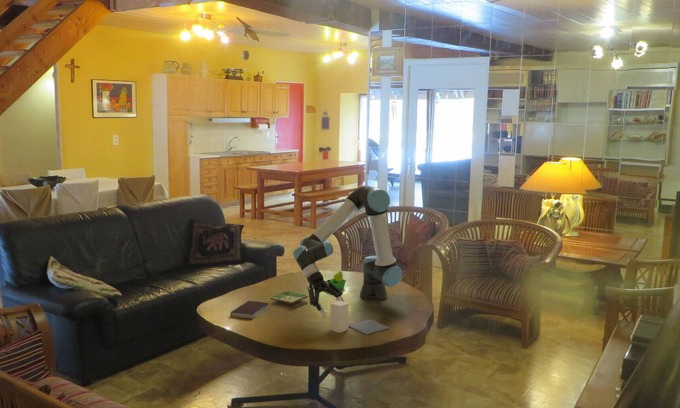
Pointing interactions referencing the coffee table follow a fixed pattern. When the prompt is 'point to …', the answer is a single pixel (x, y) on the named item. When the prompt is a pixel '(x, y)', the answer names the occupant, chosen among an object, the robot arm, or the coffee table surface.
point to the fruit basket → (338, 280)
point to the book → (250, 309)
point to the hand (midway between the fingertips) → (335, 312)
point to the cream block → (339, 316)
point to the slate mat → (368, 327)
